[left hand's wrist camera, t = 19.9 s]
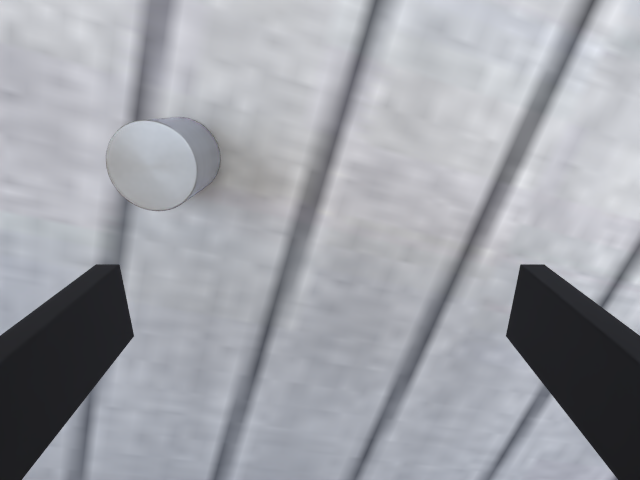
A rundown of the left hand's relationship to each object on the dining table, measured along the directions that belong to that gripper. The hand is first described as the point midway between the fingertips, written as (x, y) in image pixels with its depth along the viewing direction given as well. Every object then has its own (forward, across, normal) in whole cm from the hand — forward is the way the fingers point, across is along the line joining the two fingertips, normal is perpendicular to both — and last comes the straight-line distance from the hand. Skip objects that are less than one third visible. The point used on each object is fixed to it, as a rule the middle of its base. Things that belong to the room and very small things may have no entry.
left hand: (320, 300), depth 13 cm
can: (+12, +8, -3) cm, 15 cm away
